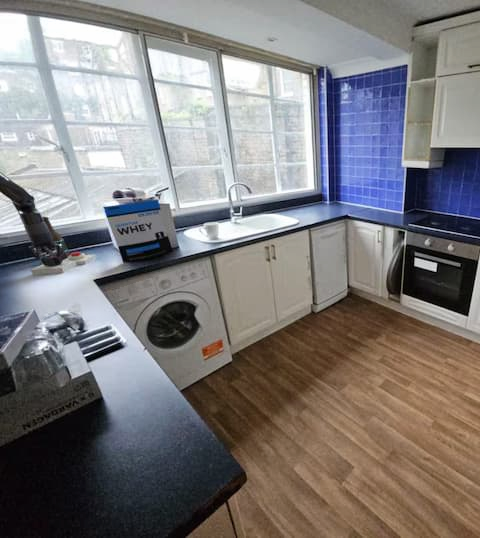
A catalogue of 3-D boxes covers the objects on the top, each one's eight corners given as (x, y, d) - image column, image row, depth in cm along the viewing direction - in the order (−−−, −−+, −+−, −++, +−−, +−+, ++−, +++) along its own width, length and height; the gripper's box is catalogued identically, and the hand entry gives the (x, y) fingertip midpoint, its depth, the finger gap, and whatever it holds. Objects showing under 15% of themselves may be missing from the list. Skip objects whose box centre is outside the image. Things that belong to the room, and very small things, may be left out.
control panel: (33, 275, 144) (30, 269, 143) (48, 268, 153) (45, 262, 152) (63, 272, 146) (61, 267, 145) (77, 265, 155) (74, 260, 154)
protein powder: (120, 261, 160) (100, 206, 148) (169, 249, 177) (154, 199, 166) (126, 264, 154) (105, 208, 143) (175, 252, 172) (161, 200, 160)
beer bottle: (71, 255, 170) (53, 215, 161) (70, 259, 165) (52, 217, 155) (53, 259, 166) (33, 217, 156) (51, 262, 160) (31, 219, 151)
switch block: (59, 266, 155) (56, 259, 153) (72, 260, 164) (69, 253, 162) (86, 264, 157) (83, 257, 155) (97, 257, 166) (94, 251, 164)
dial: (55, 266, 147) (51, 258, 145) (45, 267, 146) (41, 259, 144) (61, 263, 151) (58, 255, 149) (51, 263, 150) (47, 256, 148)
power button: (70, 257, 157) (69, 254, 156) (74, 255, 160) (73, 252, 159) (78, 256, 158) (76, 253, 157) (82, 254, 161) (81, 251, 160)
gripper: (14, 235, 137) (31, 269, 144) (49, 232, 140) (64, 266, 146) (27, 231, 144) (42, 263, 150) (61, 229, 146) (74, 260, 153)
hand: (53, 264), depth 148 cm, fingers open, 4 cm apart
